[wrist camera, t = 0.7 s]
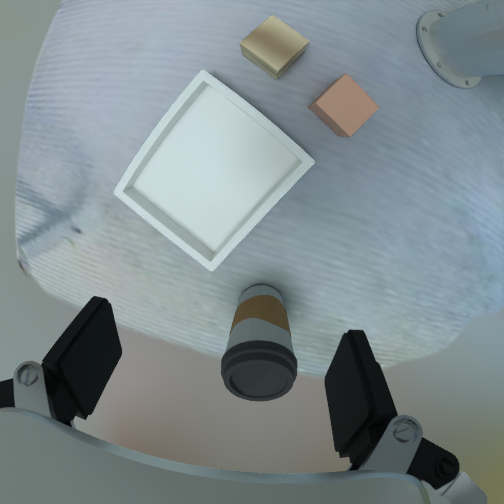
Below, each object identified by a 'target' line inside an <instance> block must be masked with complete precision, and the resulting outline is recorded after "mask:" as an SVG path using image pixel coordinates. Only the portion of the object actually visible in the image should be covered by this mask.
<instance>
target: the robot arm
mask: <svg viewBox="0 0 504 504" xmlns="http://www.w3.org/2000/svg"><path fill="white" fill-rule="evenodd" d="M417 37H418V41H419V44H420V48H421V50H422V52H423V54H424V56H425V58H426V59H427V61H428V63H429V64H430V65H431V67H432V68H433V69H434V71H435V72H436V73H437V74H438V75H439V76H440V77H441V78H443V79H444V80H445V81H446V82H448V83H449V84H451V85H453V86H455V87H458V88H463V89H464V88H472V87H475V86H476V85H478V83H479V82H480V81H481V78H482V76H491V75H504V0H481V1H478V2H476V3H473V4H471V5H468V6H466V7H464V8H461V9H459V10H457V11H455V12H452V13H450V14H447V13H444V12H441V11H430V12H428V13H426V14H424V15H423V16H422V17H421V18H420V19H419V21H418V25H417ZM121 355H122V348H121V344H120V340H119V336H118V332H117V328H116V324H115V319H114V315H113V310H112V306H111V304H110V303H109V302H108V300H107V299H106V298H102V297H97V296H93V297H92V298H91V299H90V301H89V302H88V303H87V304H86V305H85V307H84V308H83V309H82V310H81V311H80V313H79V314H78V315H77V316H76V317H75V319H74V320H73V321H72V323H71V324H70V325H69V326H68V327H67V329H66V330H65V331H64V332H63V334H62V335H61V336H60V337H59V339H58V340H57V341H56V343H55V344H54V345H53V347H52V348H51V349H50V351H49V352H48V353H47V355H46V356H45V357H44V359H43V360H42V361H43V363H42V364H41V365H40V364H39V363H37V362H34V361H26V362H24V363H22V364H20V365H19V366H18V367H17V368H16V370H15V372H14V376H13V378H12V379H9V380H5V381H1V382H0V504H487V496H486V495H485V493H484V492H483V491H482V490H481V489H480V488H479V487H478V486H477V485H476V484H475V483H474V482H473V481H472V480H471V479H470V478H469V477H468V476H467V475H466V473H464V471H463V472H461V473H460V472H459V462H458V459H457V458H456V456H455V455H453V454H452V453H450V452H448V451H446V450H444V449H443V448H441V447H439V446H437V445H435V444H434V443H432V442H430V441H428V440H426V439H425V438H423V437H422V435H423V432H422V427H421V425H420V423H419V422H418V421H417V420H416V419H415V418H413V417H411V416H408V415H399V416H398V414H397V411H396V408H395V405H394V402H393V399H392V397H391V394H390V391H389V388H388V385H387V383H386V380H385V377H384V375H383V372H382V369H381V367H380V365H379V363H378V362H376V360H375V358H374V355H373V352H372V350H371V347H370V345H369V342H368V340H367V337H366V335H365V332H364V331H363V330H349V331H348V332H347V333H344V334H343V336H342V338H341V341H340V343H339V346H338V348H337V351H336V353H335V355H334V358H333V360H332V362H331V365H330V367H329V369H328V372H327V374H326V376H325V389H326V395H327V401H328V407H329V414H330V420H331V426H332V433H333V440H334V447H335V450H336V452H339V455H340V458H344V457H349V458H350V463H351V465H350V466H349V467H348V469H347V470H346V471H341V472H327V473H307V474H306V473H302V474H274V473H253V472H240V471H231V470H222V469H214V468H208V467H201V466H195V465H190V464H185V463H179V462H175V461H171V460H166V459H162V458H158V457H154V456H150V455H147V454H143V453H140V452H136V451H133V450H130V449H127V448H123V447H120V446H118V445H115V444H112V443H109V442H106V441H103V440H101V439H98V438H96V437H93V436H91V435H88V434H86V433H83V432H81V431H78V430H76V428H75V425H74V421H73V419H74V417H75V416H77V417H80V418H82V419H84V420H86V418H87V416H88V415H91V414H92V413H93V411H94V409H95V407H96V404H97V402H98V400H99V398H100V396H101V394H102V392H103V390H104V388H105V386H106V384H107V382H108V380H109V379H110V376H111V374H112V373H113V371H114V369H115V367H116V365H117V363H118V361H119V359H120V358H121Z"/></svg>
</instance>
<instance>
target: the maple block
mask: <svg viewBox="0 0 504 504" xmlns="http://www.w3.org/2000/svg"><path fill="white" fill-rule="evenodd" d="M308 44H309V41H308V40H307V39H306V38H304V37H303V36H302V35H300V34H299V33H298V32H296V31H295V30H294V29H292V28H291V27H289V26H288V25H287V24H285V23H284V22H282V21H281V20H279V19H278V18H276V17H275V16H273V15H271V16H270V17H268V18H267V19H266V20H265V21H264V22H263V23H261V24H260V25H259V26H258V27H257V28H256V29H255V30H254V31H253V32H251V33H250V34H249V35H248V36H247V37H246V38H245V39H244V40H243V41H242V42H241V43H240V46H241V49H242V53H243V56H244V57H246V58H247V59H249V60H250V61H251V62H253V63H254V64H256V65H257V66H258V67H260V68H261V69H262V70H264V71H265V72H266V73H267V74H269V75H270V76H271V77H273V78H274V79H275V80H276V79H277V78H278V77H279V76H280V75H281V74H282V73H283V72H285V71H286V70H287V69H288V68H289V67H290V66H291V65H292V64H293V63H294V62H295V61H296V60H297V59H298V58H299V57H300V56H301V55H302V54H303V53H304V51H305V49H306V47H307V45H308Z"/></svg>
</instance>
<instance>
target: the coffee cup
mask: <svg viewBox="0 0 504 504" xmlns="http://www.w3.org/2000/svg"><path fill="white" fill-rule="evenodd" d="M221 375H222V377H223V380H224V384H225V386H226V388H227V389H228V390H229V391H230V392H231V393H233V394H234V395H235V396H237V397H240V398H242V399H246V400H250V401H269V400H273V399H277V398H279V397H281V396H283V395H285V394H286V393H287V392H289V390H290V389H291V388H292V386H293V383H294V381H295V379H296V376H297V359H296V357H295V355H294V352H293V347H292V342H291V333H290V328H289V323H288V318H287V314H286V310H285V307H284V302H283V298H282V296H281V294H280V293H279V292H278V291H277V290H275V289H274V288H272V287H270V286H267V285H255V286H252V287H250V288H249V289H247V290H246V291H244V292H243V294H242V295H241V297H240V299H239V303H238V307H237V310H236V312H235V316H234V319H233V323H232V327H231V331H230V336H229V341H228V344H227V348H226V352H225V354H224V356H223V358H222V361H221Z"/></svg>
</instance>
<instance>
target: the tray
mask: <svg viewBox="0 0 504 504" xmlns="http://www.w3.org/2000/svg"><path fill="white" fill-rule="evenodd" d="M315 162H316V161H314V160H313V159H312V158H311V157H310V156H309V155H308V154H307V153H306V152H305V151H304V150H303V149H302V148H301V147H300V146H298V145H297V144H296V143H295V142H294V141H293V140H292V139H291V138H290V137H288V136H287V135H286V134H285V133H284V132H283V131H282V130H280V129H279V128H278V127H277V126H276V125H275V124H273V123H272V122H271V121H270V120H269V119H268V118H266V117H265V116H264V115H263V114H262V113H260V112H259V111H258V110H257V109H255V108H254V107H253V106H252V105H250V104H249V103H248V102H247V101H245V100H244V99H243V98H241V97H240V96H239V95H238V94H236V93H235V92H234V91H232V90H231V89H230V88H228V87H227V86H226V85H224V84H223V83H222V82H220V81H219V80H217V79H216V78H215V77H213V76H212V75H210V74H209V73H207V72H206V71H205V70H203V69H202V70H201V71H200V72H199V74H198V75H197V76H196V77H195V78H194V79H193V80H192V82H191V83H190V84H189V85H188V86H187V87H186V89H185V90H184V91H183V92H182V93H181V95H180V96H179V97H178V98H177V100H176V101H175V102H174V103H173V105H172V106H171V107H170V108H169V110H168V111H167V112H166V114H165V115H164V116H163V118H162V119H161V120H160V122H159V123H158V124H157V126H156V127H155V129H154V130H153V131H152V133H151V134H150V136H149V137H148V138H147V140H146V141H145V143H144V144H143V146H142V147H141V149H140V150H139V152H138V153H137V155H136V156H135V158H134V159H133V161H132V162H131V164H130V166H129V167H128V169H127V170H126V172H125V174H124V175H123V177H122V179H121V180H120V182H119V184H118V185H117V187H116V189H115V191H114V192H113V193H114V194H115V195H116V196H117V197H119V198H120V199H121V200H122V201H123V202H124V203H126V204H127V205H128V206H129V207H130V208H132V209H133V210H134V211H135V212H137V213H138V214H139V215H140V216H141V217H143V218H144V219H145V220H146V221H148V222H149V223H150V224H151V225H152V226H154V227H155V228H156V229H157V230H159V231H160V232H161V233H162V234H164V235H165V236H166V237H167V238H169V239H170V240H171V241H172V242H174V243H175V244H176V245H177V246H179V247H180V248H181V249H183V250H184V251H185V252H186V253H188V254H189V255H190V256H192V257H193V258H194V259H195V260H197V261H198V262H199V263H201V264H202V265H203V266H204V267H206V268H207V269H208V270H210V271H211V272H213V271H214V270H215V268H216V267H217V266H218V265H219V264H220V263H221V262H222V261H223V260H224V259H225V258H226V257H227V255H228V254H229V253H230V252H231V251H232V250H233V249H234V248H235V247H236V246H237V245H238V244H239V243H240V241H241V240H242V239H243V238H244V237H245V236H246V235H247V234H248V233H249V232H250V231H251V230H252V229H253V228H254V226H255V225H256V224H257V223H258V222H259V221H260V220H261V219H262V218H263V217H264V216H265V215H266V214H267V213H268V212H269V211H270V209H271V208H272V207H273V206H274V205H275V204H276V203H277V202H278V201H279V200H280V199H281V198H282V197H283V196H284V195H285V194H286V193H287V192H288V190H289V189H290V188H291V187H292V186H293V185H294V184H295V183H296V182H297V181H298V180H299V179H300V178H301V177H302V176H303V175H304V174H305V173H306V172H307V171H308V170H309V169H310V167H311V166H312V165H313V164H314V163H315Z"/></svg>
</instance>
